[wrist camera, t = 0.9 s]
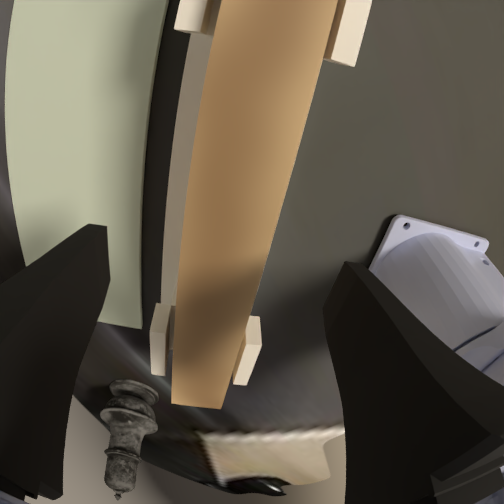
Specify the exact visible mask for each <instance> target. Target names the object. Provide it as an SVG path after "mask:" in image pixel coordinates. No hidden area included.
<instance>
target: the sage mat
mask: <svg viewBox="0 0 504 504" xmlns="http://www.w3.org/2000/svg"><path fill="white" fill-rule="evenodd" d="M168 3H169V0H15V1H14V6H13V12H12V18H11V25H10V32H9V40H8V50H7V62H6V79H5V130H6V148H7V160H8V170H9V179H10V187H11V194H12V201H13V207H14V213H15V219H16V224H17V229H18V234H19V239H20V243H21V248H22V252H23V256H24V260H25V264H26V267H27V266H28V265H30V264H31V263H32V262H34V261H35V260H37V259H38V258H40V257H41V256H43V255H44V254H45V253H47V252H48V251H49V250H51V249H52V248H54V247H55V246H56V245H58V244H59V243H61V242H62V241H63V240H65V239H66V238H67V237H69V236H70V235H72V234H73V233H75V232H76V231H77V230H79V229H80V228H82V227H84V226H85V225H87V224H96V225H103V226H107V233H108V251H109V265H110V277H111V280H110V284H109V288H108V291H107V295H106V298H105V302H104V305H103V308H102V311H101V313H100V316H99V318H98V321H100V322H105V323H110V324H115V325H120V326H126V327H131V328H137V329H142V325H143V321H142V291H141V234H142V204H143V185H144V169H145V156H146V145H147V134H148V125H149V116H150V107H151V100H152V92H153V85H154V78H155V72H156V65H157V59H158V53H159V48H160V42H161V37H162V31H163V26H164V22H165V17H166V12H167V7H168Z"/></svg>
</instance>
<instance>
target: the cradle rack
mask: <svg viewBox="0 0 504 504" xmlns="http://www.w3.org/2000/svg"><path fill="white" fill-rule="evenodd" d="M221 2H222V0H180V3H179V8H178V12H177V17H176V22H175V26H174V29H175V30H178V31H181V32H184V33H191V36H190V41H189V46H188V51H187V56H186V62H185V67H184V73H183V78H182V84H181V90H180V97H179V103H178V110H177V116H176V123H175V131H174V138H173V146H172V154H171V163H170V172H169V181H168V192H167V203H166V214H165V228H164V242H163V260H162V281H161V304H160V303H156V306H155V310H154V315H153V319H152V323H151V327H150V355H151V373H152V374H154V375H161V376H165V373H166V366H167V360H168V353H169V350H173V343H174V325H175V310H176V295H177V283H178V271H179V260H180V249H181V239H182V230H183V221H184V212H185V204H186V196H187V188H188V180H189V173H190V166H191V159H192V152H193V145H194V139H195V132H196V126H197V120H198V114H199V108H200V103H201V97H202V91H203V86H204V81H205V75H206V70H207V65H208V60H209V55H210V51H211V46H212V41H213V36H214V32H215V27H216V23H217V19H218V14H219V10H220V6H221ZM371 3H372V0H338V2H337V6H336V10H335V14H334V18H333V22H332V26H331V29H330V33H329V37H328V41H327V45H326V48H325V52H324V56H323V60H327V61H330V62H333V63H336V64H342V65H347V66H352V67H355V63H356V60H357V56H358V52H359V49H360V45H361V41H362V38H363V34H364V30H365V26H366V22H367V19H368V15H369V11H370V7H371ZM321 64H322V63H321ZM320 68H321V67H320ZM317 79H318V78H317ZM314 90H315V89H314ZM311 101H312V100H311ZM308 112H309V111H308ZM305 123H306V122H305ZM303 130H304V129H303ZM300 141H301V140H300ZM298 148H299V147H298ZM295 159H296V158H295ZM293 166H294V165H293ZM291 173H292V172H291ZM289 180H290V179H289ZM287 187H288V186H287ZM285 194H286V193H285ZM283 201H284V200H283ZM281 208H282V207H281ZM279 215H280V214H279ZM277 222H278V221H277ZM275 229H276V228H275ZM270 246H271V245H270ZM268 253H269V252H268ZM265 263H266V262H265ZM263 270H264V269H263ZM260 280H261V279H260ZM257 290H258V289H257ZM261 347H262V340H261V327H260V317H258V316H249V320H248V323H247V326H246V329H245V333H244V336H243V339H242V343H241V346H240V349H239V352H238V356H237V359H236V362H235V365H234V369H233V384H235V385H247V383H248V380H249V378H250V375H251V373H252V370H253V367H254V365H255V362H256V360H257V357H258V355H259V352H260V349H261Z"/></svg>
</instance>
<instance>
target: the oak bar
mask: <svg viewBox="0 0 504 504" xmlns="http://www.w3.org/2000/svg"><path fill="white" fill-rule="evenodd" d="M337 2H338V0H222V2H221V6H220V10H219V14H218V19H217V23H216V27H215V32H214V36H213V41H212V46H211V51H210V55H209V60H208V65H207V70H206V75H205V81H204V86H203V91H202V97H201V103H200V108H199V114H198V120H197V126H196V132H195V139H194V145H193V152H192V159H191V166H190V173H189V180H188V188H187V196H186V204H185V212H184V221H183V230H182V239H181V249H180V260H179V271H178V283H177V295H176V310H175V325H174V343H173V366H172V402H171V403H173V404H180V405H188V406H196V407H205V408H215V409H221V407H222V404H223V401H224V398H225V395H226V391H227V388H228V385H229V382H230V378H231V375H232V372H233V369H234V365H235V362H236V359H237V356H238V352H239V349H240V346H241V343H242V339H243V336H244V333H245V329H246V326H247V323H248V320H249V316H250V313H251V310H252V306H253V303H254V300H255V296H256V293H257V289H258V286H259V283H260V279H261V276H262V273H263V269H264V266H265V262H266V259H267V256H268V252H269V249H270V245H271V242H272V239H273V235H274V232H275V228H276V225H277V221H278V218H279V214H280V211H281V207H282V204H283V200H284V197H285V193H286V190H287V186H288V183H289V179H290V176H291V172H292V169H293V165H294V162H295V158H296V155H297V151H298V147H299V144H300V140H301V137H302V133H303V129H304V126H305V122H306V119H307V115H308V111H309V108H310V104H311V100H312V97H313V93H314V89H315V86H316V82H317V78H318V75H319V71H320V67H321V63H322V60H323V56H324V52H325V48H326V45H327V41H328V37H329V33H330V29H331V26H332V22H333V18H334V14H335V10H336V6H337Z"/></svg>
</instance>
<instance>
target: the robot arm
mask: <svg viewBox="0 0 504 504" xmlns="http://www.w3.org/2000/svg"><path fill="white" fill-rule="evenodd" d="M405 223H407V225H406V226H403V225H404V224H405ZM488 246H489V242H488V240H487V239H485V238H482V237H479V236H476V235H473V234H469V233H466V232H462V231H459V230H455V229H452V228H448V227H445V226H441V225H438V224H434V223H430V222H427V221H423V220H419V219H416V218H412V217H408V216H404V215H397V216H395V217H394V218H393V219H392V221H391V223H390V225H389V227H388V230H387V232H386V234H385V236H384V238H383V240H382V242H381V244H380V247H379V249H378V251H377V253H376V255H375V257H374V259H373V261H372V263H371V265H370V267H369V269H367V268H366V267H365V266H364V265H363V264H360V263H353V262H347V261H345V262H344V264H343V266H342V269H341V271H340V273H339V275H338V277H337V279H336V282H335V284H334V286H333V288H332V290H331V292H330V294H329V296H328V298H327V300H326V303H325V305H324V307H323V314H324V324H325V332H326V338H327V342H328V346H329V351H330V355H331V359H332V363H333V367H334V371H335V375H336V379H337V383H338V387H339V391H340V396H341V401H342V407H343V416H344V427H345V441H346V492H345V504H504V277H503V276H502V275H501V273H500V272H499V271H498V270H497V268H496V267H495V266H494V265H493V263H492V262H491V261H490V260H489V259H488V257H487V256H486V255H485V254H484V253H485V251H486V250H487V248H488ZM110 280H111V277H110V265H109V251H108V233H107V226H103V225H96V224H87V225H85V226H84V227H82V228H80V229H79V230H77V231H76V232H75V233H73V234H72V235H70V236H69V237H67V238H66V239H65V240H63V241H62V242H61V243H59V244H58V245H56V246H55V247H54V248H52V249H51V250H49V251H48V252H47V253H45V254H44V255H43V256H41V257H40V258H38V259H37V260H35V261H34V262H32V263H31V264H30V265H28V266H27V267H25V268H24V269H22V270H21V271H19V272H18V273H17V274H15V275H14V276H12V277H11V278H9V279H8V280H6V281H5V282H3V283H1V284H0V504H29V503H27V502H24V499H25V495H26V496H29V497H31V498H34V499H37V497H38V495H40V496H43V497H46V498H49V499H51V500H56V499H58V498H60V497H61V496H62V495H63V459H64V448H65V438H66V429H67V423H68V415H69V410H70V404H71V399H72V395H73V390H74V385H75V381H76V377H77V374H78V370H79V367H80V364H81V362H82V359H83V356H84V354H85V351H86V348H87V346H88V343H89V341H90V338H91V336H92V333H93V331H94V328H95V326H96V323H97V321H98V318H99V316H100V313H101V311H102V308H103V305H104V302H105V298H106V295H107V291H108V288H109V284H110Z"/></svg>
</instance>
